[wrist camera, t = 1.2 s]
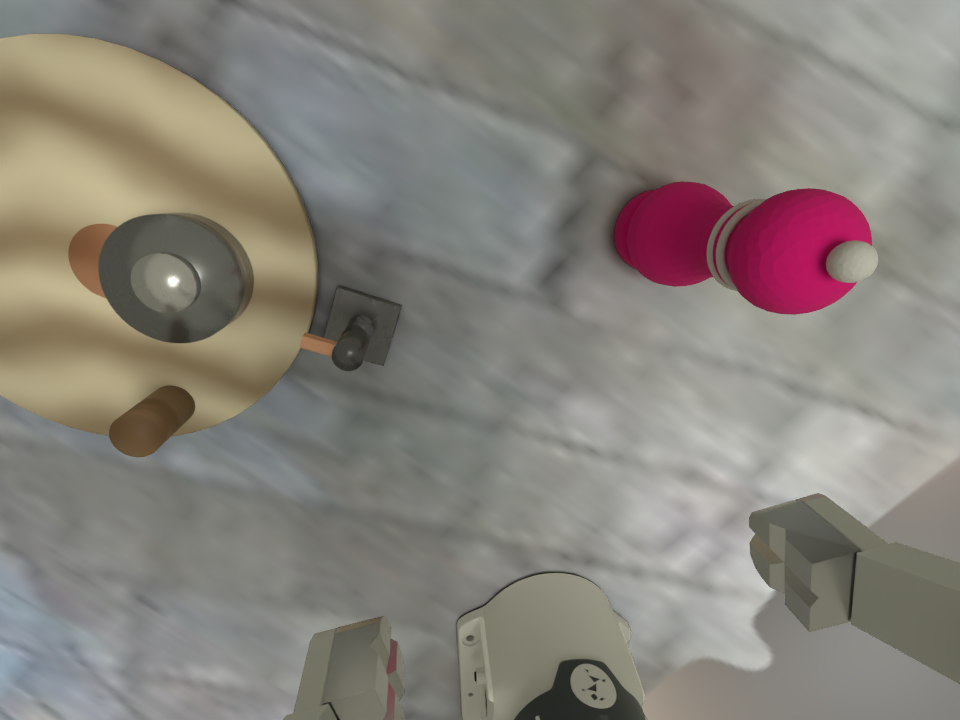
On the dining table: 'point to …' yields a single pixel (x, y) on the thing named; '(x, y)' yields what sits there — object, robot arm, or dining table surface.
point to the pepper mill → (749, 244)
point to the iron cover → (175, 276)
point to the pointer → (356, 329)
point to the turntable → (114, 200)
